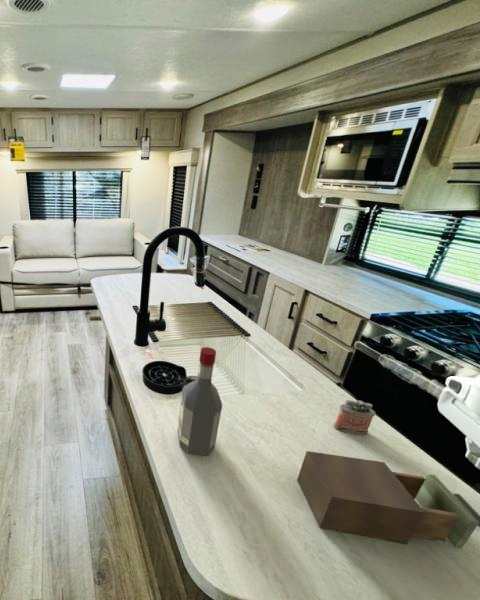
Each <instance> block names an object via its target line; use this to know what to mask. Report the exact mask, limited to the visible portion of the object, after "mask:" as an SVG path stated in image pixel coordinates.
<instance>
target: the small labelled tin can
mask: <svg viewBox="0 0 480 600" xmlns="http://www.w3.org/2000/svg"><path fill="white" fill-rule="evenodd" d="M375 416H376V411H375V410H373V404H372V403H371V402H370V403H369V402H364V401H363V400H357V401H356V400H349V399H345V402H344V404H343V403H342V404H340V405H339V411H338V414H337V416H336V420H335V422H334V423H333V428H334V429H335V430H337V431H340V432H342V433H346V434H347V433H348V434H352V435H358V436H359V435H361V436H366V435H368V433H369V429H370V426H371V423H372V422H373V421H372V420H373V418H374V417H375Z"/></svg>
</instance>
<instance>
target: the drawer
mask: <svg viewBox="0 0 480 600" xmlns="http://www.w3.org/2000/svg"><path fill="white" fill-rule="evenodd" d="M392 472H393V474H394V475H395V476H396V477H397V479H398V480H399V481H400V482H401V484H402V485H403V486H404V487H405V489H406V490H407V491H408V492H409V494H410V495H411V496H412V497H413V499H414V500H415V501H416V502H417V503H418V505H419V506H420V507H421V508H422V510H423V511H424V512H425V513H424V515H423V517H422V519H421V520H420V522H419V524H418V526H417V527H416V529H415V531H414V533H413V534H412V536H411V537H419V538H423V539H429V540H434V541H440V542H445V541H446V539H447V540H448V542H449V543H450V544H451V545H452V546H453V548H456V549H460V550H462V549H463V548H464V546H465V545H466V543H467V542H468V540H469V539H470V537H471V536H472V535H473V533H474V532H475V531H476V529H477V528H480V514H479V512H478V511H476V510H475V508H474V507H472V506H471V504H470V503H468V502H467V500H466V499H465V498H464V497H463V496H462V495H461V494H460V493H452V492H451V490H449V489H448V487H447V486H446V485H444V483H443V482H442V481H441V480H440V479H439V478H438V477H437V476H436V475H435V474H432V473H428V474H427V475H426V476H425V477H424V476H423V475H419V474H418V475H417V474H411V473H404V472H397V471H392Z"/></svg>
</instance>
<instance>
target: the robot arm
mask: <svg viewBox="0 0 480 600" xmlns="http://www.w3.org/2000/svg"><path fill="white" fill-rule="evenodd" d="M437 409H438V412H439V413H440V414H441V415H442V416H444V418H446V419H447V420H448V421H449V422H450V423H451V424H452V425H453V426H454V427H456V429H458V430H459V431H460V432H461V433H462V434H463V435H464V436H465V438H464V439H465V446H466V453H465V456H464V457H465V458H466V459H468V461H469V462H471V464H472V465H474V467H476V468H477V469H478V470H480V373H478V374H477V375H476V376H475V377H474V378H473V377H459V376H448V377H447V378H446V379H445V387H443V389H442V391H441V393H440V395H439V398H438V400H437Z"/></svg>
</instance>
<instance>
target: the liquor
mask: <svg viewBox="0 0 480 600" xmlns="http://www.w3.org/2000/svg"><path fill="white" fill-rule="evenodd" d="M216 356H217V350H216V349H215V348H213V347H208V346H204V347H202V348H200V353H199V360H198V361H199V364H198V372H197V376H196V378H195V379H194V380H193V381H191V382H189V383H187V384H186V385H184V386H183V388H182V390H181V398H180V407H179V415H178V425H177V438H178V445H179V447H180V448H181V449H182V450H183V451H184V452H185V453H187V454H190V455H199V456H204V457H205V456H206V457H207V456H208V455H210V454H211V453H212V452H213V451H215V447H216V443H217V436H218V431H219V425H220V421H221V415H222V409H223V402H222V399H221V396H220V394H219V390H218V389H217V387H216V386H215V385H214V384H213V383H212V377H213V372H214V365H215V362H216Z"/></svg>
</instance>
